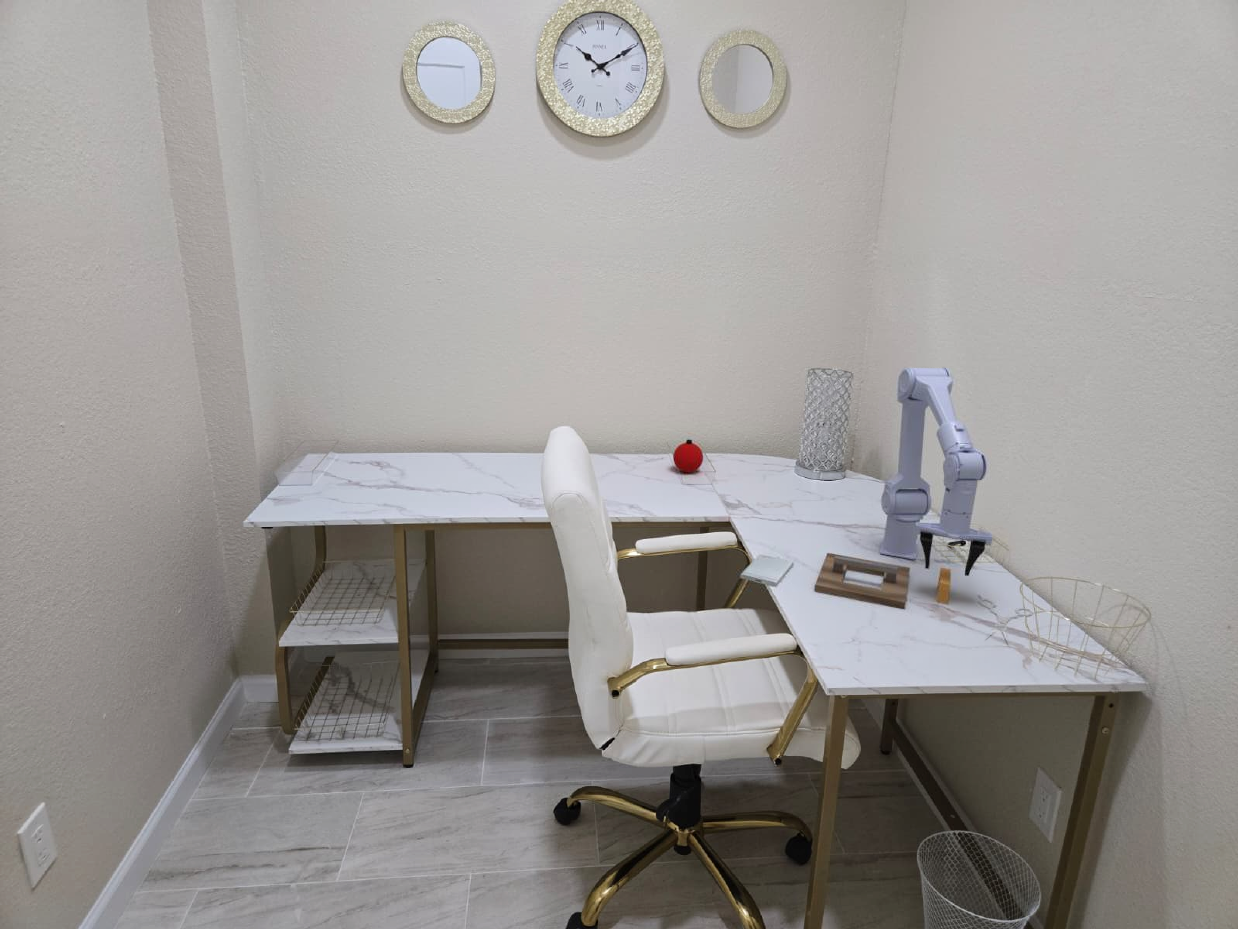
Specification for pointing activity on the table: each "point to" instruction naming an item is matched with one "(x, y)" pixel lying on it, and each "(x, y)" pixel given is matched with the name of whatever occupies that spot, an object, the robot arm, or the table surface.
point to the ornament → (688, 457)
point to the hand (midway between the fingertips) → (946, 570)
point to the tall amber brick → (944, 585)
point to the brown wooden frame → (884, 596)
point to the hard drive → (767, 570)
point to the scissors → (999, 618)
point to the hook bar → (865, 567)
